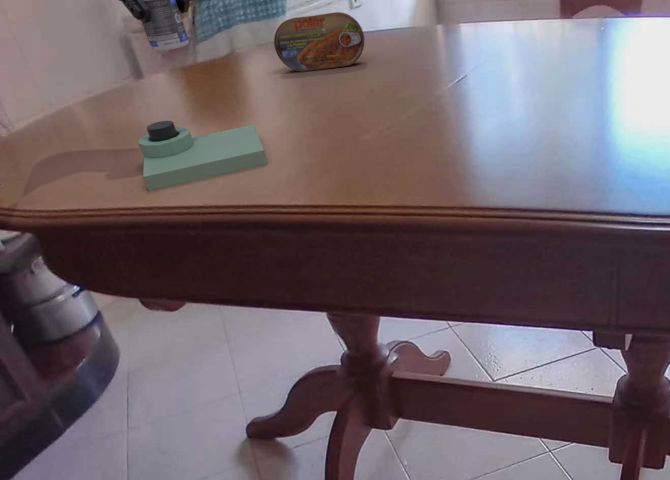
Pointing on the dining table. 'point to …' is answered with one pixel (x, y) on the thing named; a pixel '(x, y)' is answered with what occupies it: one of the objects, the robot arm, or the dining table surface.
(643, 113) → the dining table surface
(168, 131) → the button
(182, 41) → the pill bottle
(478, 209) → the dining table surface
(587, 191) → the dining table surface
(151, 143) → the scale
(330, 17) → the tin
